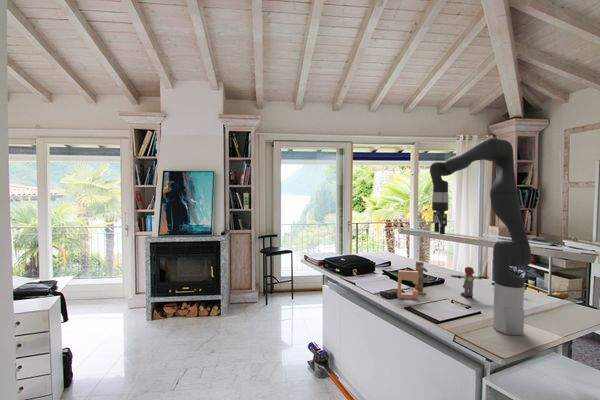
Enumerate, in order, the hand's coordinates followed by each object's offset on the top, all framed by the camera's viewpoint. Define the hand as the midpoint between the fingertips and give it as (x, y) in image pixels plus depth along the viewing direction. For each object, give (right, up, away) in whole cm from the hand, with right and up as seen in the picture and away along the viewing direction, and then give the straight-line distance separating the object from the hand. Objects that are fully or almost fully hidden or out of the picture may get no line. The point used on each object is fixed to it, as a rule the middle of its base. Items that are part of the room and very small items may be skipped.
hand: (439, 233), depth 158 cm
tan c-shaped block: (-19, -30, -9) cm, 37 cm away
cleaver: (+36, -31, +1) cm, 47 cm away
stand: (-11, -30, -4) cm, 32 cm away
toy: (+11, -31, -6) cm, 33 cm away
